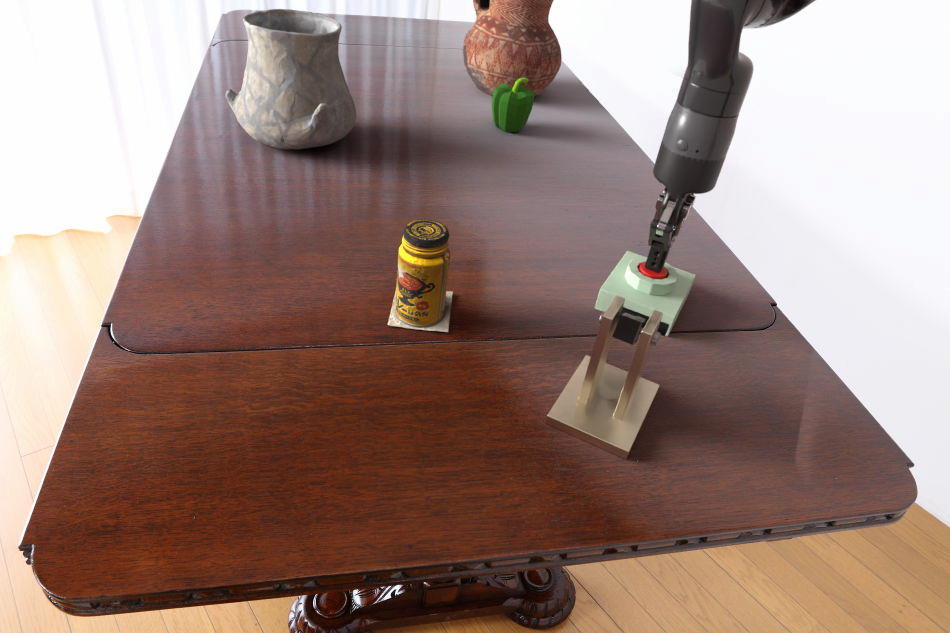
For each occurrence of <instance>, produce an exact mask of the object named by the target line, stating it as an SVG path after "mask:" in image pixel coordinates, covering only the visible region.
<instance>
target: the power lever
mask: <svg viewBox="0 0 950 633" xmlns="http://www.w3.org/2000/svg"><path fill="white" fill-rule="evenodd" d="M649 318H650V317H649V316H646V315H643V314H641V313H638V312H636V311H633V310H630V309H628V308H625V307H623V309H622V312H621V315H620V318H619V320H618V323H617V325H616V328H615V331H614V333H613V336H612V337H613V339H616V340H619V341H621V342H625V343H626V344H629V345H632V346H634V345H636V343H638V342H639V339H640V336H641V333H642V330H643V329H644V327H645V325H646V323H647V321H648V320H649ZM668 328H669V324H667V323H664V322H662V321H661V322H660V324H659V327H658V330H657V332H659V333H660V336H663V337H666V336H665V335H666V333H667V330H668Z"/></svg>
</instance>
